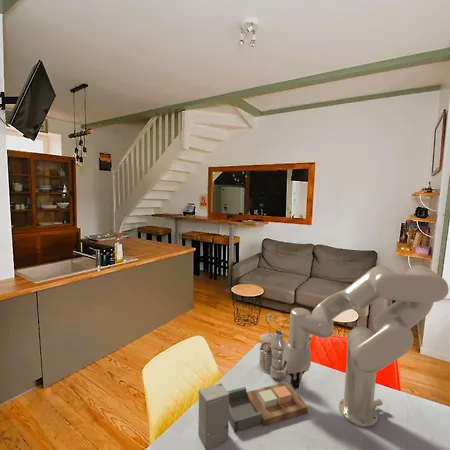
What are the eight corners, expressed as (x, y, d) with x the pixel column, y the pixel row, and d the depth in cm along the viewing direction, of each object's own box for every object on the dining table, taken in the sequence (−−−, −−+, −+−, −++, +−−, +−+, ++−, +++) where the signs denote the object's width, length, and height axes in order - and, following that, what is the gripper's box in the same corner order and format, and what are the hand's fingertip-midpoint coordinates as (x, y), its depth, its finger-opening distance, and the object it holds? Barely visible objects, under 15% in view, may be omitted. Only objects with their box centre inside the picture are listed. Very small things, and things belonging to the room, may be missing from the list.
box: (244, 396, 109) (245, 386, 109) (261, 424, 96) (262, 413, 96) (220, 402, 106) (220, 392, 105) (234, 432, 93) (234, 421, 92)
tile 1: (270, 395, 106) (270, 389, 106) (277, 404, 102) (277, 398, 101) (258, 398, 105) (258, 392, 104) (264, 408, 100) (265, 401, 100)
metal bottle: (281, 384, 116) (283, 338, 114) (266, 377, 120) (268, 333, 118) (288, 376, 121) (289, 332, 119) (273, 370, 125) (275, 327, 123)
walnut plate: (286, 387, 114) (286, 381, 114) (307, 413, 101) (308, 406, 101) (245, 398, 108) (246, 392, 108) (263, 426, 95) (263, 420, 95)
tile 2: (284, 391, 108) (284, 385, 108) (291, 400, 104) (291, 394, 103) (272, 394, 107) (272, 388, 106) (279, 404, 102) (279, 397, 102)
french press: (281, 363, 130) (283, 311, 127) (275, 378, 120) (277, 322, 117) (260, 358, 134) (262, 308, 131) (253, 372, 124) (254, 318, 121)
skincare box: (205, 450, 86) (206, 403, 84) (197, 433, 92) (197, 388, 90) (230, 440, 90) (230, 394, 88) (220, 423, 96) (220, 380, 94)
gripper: (309, 334, 111) (305, 376, 113) (275, 339, 106) (272, 384, 108) (321, 344, 104) (317, 389, 106) (286, 350, 99) (283, 398, 101)
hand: (294, 386), depth 107 cm, fingers closed
